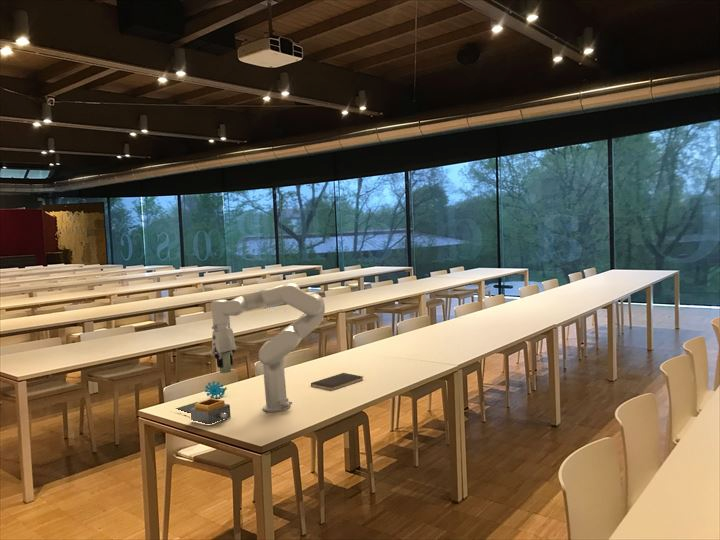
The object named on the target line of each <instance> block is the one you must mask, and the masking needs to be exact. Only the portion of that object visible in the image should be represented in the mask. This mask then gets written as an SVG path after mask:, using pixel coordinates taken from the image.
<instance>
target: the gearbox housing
mask: <svg viewBox="0 0 720 540" xmlns="http://www.w3.org/2000/svg"><path fill="white" fill-rule="evenodd" d="M190 412H191V418H190V421H191V420H193V421H198V422H202V423H205V424H212V423H215V422H217V421H220V420H223V419H226V420H228V419H227V418H229V417H231V418H232V416H231V415H232V414H231V405H230V404H228V403H226V402H225V400H223V399H218V398H217V399H215V398H214V397H213V398H208V399H205V400H202V401H199V403H196V404H195V407H194V408H192V409H190ZM229 419H230V418H229Z"/></svg>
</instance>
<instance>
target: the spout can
mask: <svg viewBox="0 0 720 540" xmlns="http://www.w3.org/2000/svg"><path fill="white" fill-rule="evenodd" d="M221 359H222V361H223V368H219V373H220V374H229V373H231V372H232V365H231V363H230V352H229V351H227V352H224V353H222V356H221Z"/></svg>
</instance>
